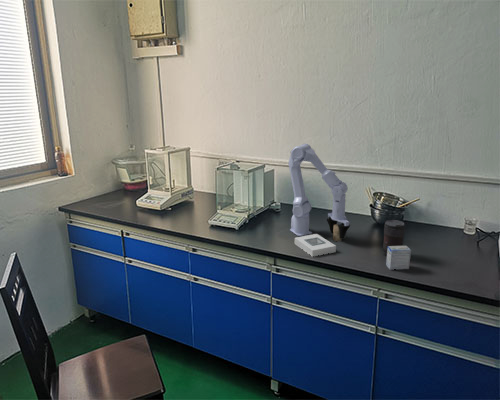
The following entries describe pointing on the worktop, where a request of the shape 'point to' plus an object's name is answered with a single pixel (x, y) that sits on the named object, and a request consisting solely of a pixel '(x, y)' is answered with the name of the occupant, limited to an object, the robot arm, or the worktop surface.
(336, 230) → the peg
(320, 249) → the socket board
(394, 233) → the camera lens
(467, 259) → the worktop surface
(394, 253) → the medicine box
